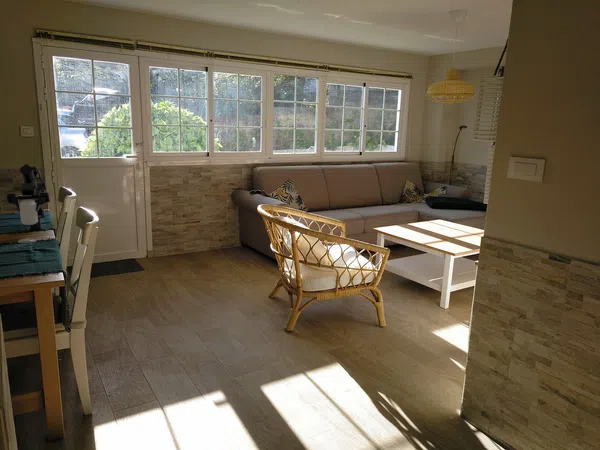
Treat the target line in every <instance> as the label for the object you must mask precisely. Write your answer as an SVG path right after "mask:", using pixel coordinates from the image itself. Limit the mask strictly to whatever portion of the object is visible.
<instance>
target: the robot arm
mask: <svg viewBox="0 0 600 450" xmlns="http://www.w3.org/2000/svg"><path fill="white" fill-rule="evenodd" d="M19 174H20V176H21V180H22V183H20V193H21V194H22V195H21V194H19V195H18V194H17V193H16V192H8V193H6V199H7V203H8V204H12V205H15V207H16V208H17V211H18V212H19V213H20V207H19V204H20V203H21V202H20V200H35V201H34V202H36V205H37V207H36V211H37V216H38V222H37V223H36V224H32V225H28V228H27V230H28V231H41V230H43V228H44V226H43V225H42V219H44V218H45V217H46V216H45V211H44V209H43V207H42V206H43V205H45V204H47V203H50V202H51V197H50V196H51V195H50V193H49V192H48V191H47V190H48V189H47V182H46V180H45V178H44V177H43V176H42V173H41V171H40V169H39V168H38V167H37V166H36V165H35V166H34V165H33V166H30V165H29V164H24V165H23V166H21V167H20V168H19ZM37 180H39V182H37Z"/></svg>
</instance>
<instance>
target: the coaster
mask: <svg viewBox="0 0 600 450" xmlns="http://www.w3.org/2000/svg"><path fill="white" fill-rule="evenodd" d="M37 241H38V240H37V238H33V237H31V238H30V237H29V238H21V239H18V240H17V243H18V244H22V245H25V244H33V243H36V242H37Z"/></svg>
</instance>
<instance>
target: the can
mask: <svg viewBox="0 0 600 450" xmlns="http://www.w3.org/2000/svg"><path fill="white" fill-rule="evenodd" d="M34 201H35V200H31V199H30V200H26V199H21V200H19V203H20V204H19V207H20V212H19V214H20V223H21V224H22V225H24V226H25V225H27V226H29V225H32V224H36V223H37V222H38V216H37V211H36V207H37V205H36V202H34Z"/></svg>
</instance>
